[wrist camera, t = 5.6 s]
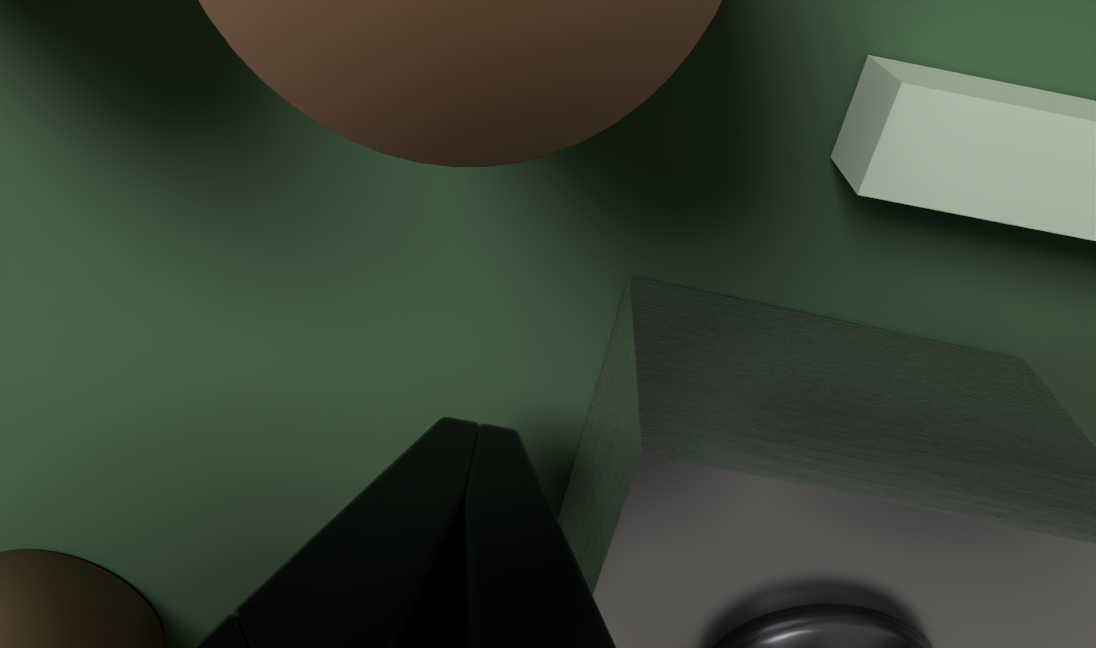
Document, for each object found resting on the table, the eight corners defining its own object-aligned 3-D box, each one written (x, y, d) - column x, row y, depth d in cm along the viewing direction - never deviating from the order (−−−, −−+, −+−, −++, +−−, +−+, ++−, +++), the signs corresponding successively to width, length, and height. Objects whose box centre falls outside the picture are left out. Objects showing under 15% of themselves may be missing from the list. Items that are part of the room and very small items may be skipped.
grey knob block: (1023, 360, 9) (1209, 591, 6) (863, 626, 12) (949, 885, 9) (628, 275, 9) (644, 479, 6) (543, 565, 11) (526, 811, 8)
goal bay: (1569, 197, 8) (1685, 240, 7) (1095, 748, 13) (1132, 815, 12) (869, 54, 8) (900, 83, 7) (640, 673, 12) (643, 736, 11)
